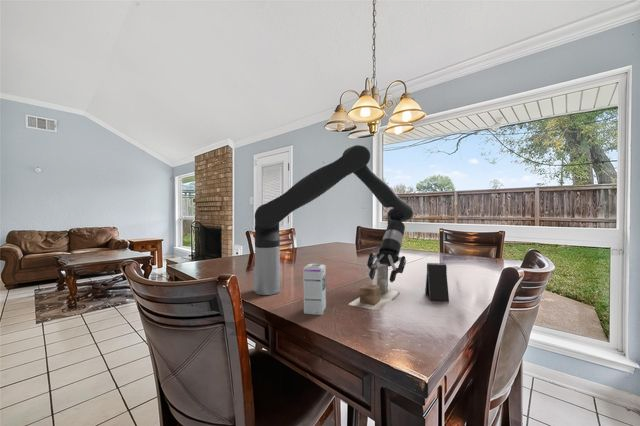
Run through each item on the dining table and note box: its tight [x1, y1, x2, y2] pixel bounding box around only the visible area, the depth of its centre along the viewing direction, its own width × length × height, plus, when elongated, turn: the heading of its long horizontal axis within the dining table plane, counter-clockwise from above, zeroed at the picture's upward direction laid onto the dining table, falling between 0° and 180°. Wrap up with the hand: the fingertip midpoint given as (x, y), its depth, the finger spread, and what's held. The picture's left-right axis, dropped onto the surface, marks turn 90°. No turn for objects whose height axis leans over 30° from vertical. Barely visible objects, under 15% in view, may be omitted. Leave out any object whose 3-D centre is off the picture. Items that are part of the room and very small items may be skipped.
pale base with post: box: [348, 264, 400, 312], centre depth 93 cm, size 10×22×11 cm, turn 147°
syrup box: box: [302, 263, 327, 316], centre depth 81 cm, size 6×6×14 cm
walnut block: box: [359, 283, 380, 306], centre depth 88 cm, size 5×5×5 cm
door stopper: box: [424, 262, 450, 302], centre depth 96 cm, size 9×6×12 cm, turn 169°
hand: (381, 279), depth 97 cm, fingers open, 6 cm apart
